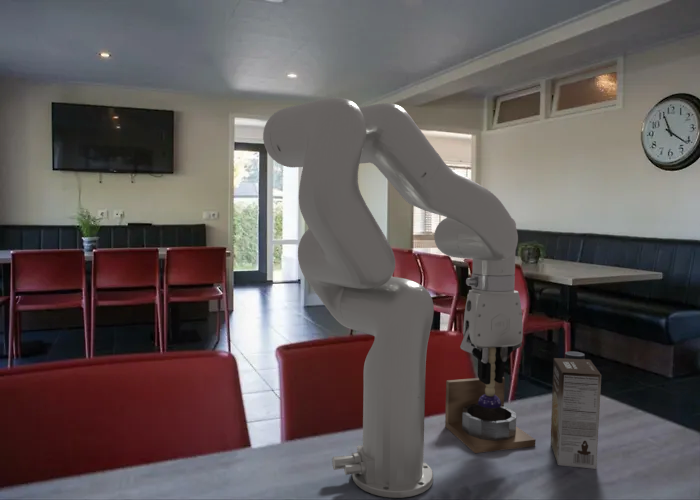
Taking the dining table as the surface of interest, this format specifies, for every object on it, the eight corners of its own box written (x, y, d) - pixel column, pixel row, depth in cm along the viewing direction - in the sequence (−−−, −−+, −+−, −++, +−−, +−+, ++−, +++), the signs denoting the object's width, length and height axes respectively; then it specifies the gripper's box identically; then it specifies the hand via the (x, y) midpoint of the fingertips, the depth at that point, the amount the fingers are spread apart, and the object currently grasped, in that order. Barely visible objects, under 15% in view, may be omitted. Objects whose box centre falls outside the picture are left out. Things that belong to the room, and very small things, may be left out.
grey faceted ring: (477, 442, 97) (478, 424, 96) (453, 422, 106) (454, 405, 106) (525, 437, 99) (526, 419, 99) (498, 418, 108) (498, 401, 108)
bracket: (474, 453, 95) (476, 401, 95) (445, 426, 107) (446, 380, 106) (535, 446, 98) (537, 396, 98) (500, 421, 110) (501, 376, 109)
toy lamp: (484, 398, 106) (484, 313, 104) (508, 403, 103) (508, 315, 102) (474, 405, 102) (474, 317, 100) (498, 411, 99) (499, 320, 98)
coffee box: (548, 443, 100) (552, 356, 99) (586, 446, 99) (590, 358, 97) (557, 466, 91) (561, 371, 90) (598, 470, 90) (603, 374, 88)
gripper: (463, 287, 95) (461, 391, 96) (543, 285, 99) (539, 384, 100) (444, 282, 102) (442, 378, 103) (519, 279, 106) (516, 372, 108)
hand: (490, 380), depth 102 cm, fingers closed on toy lamp
